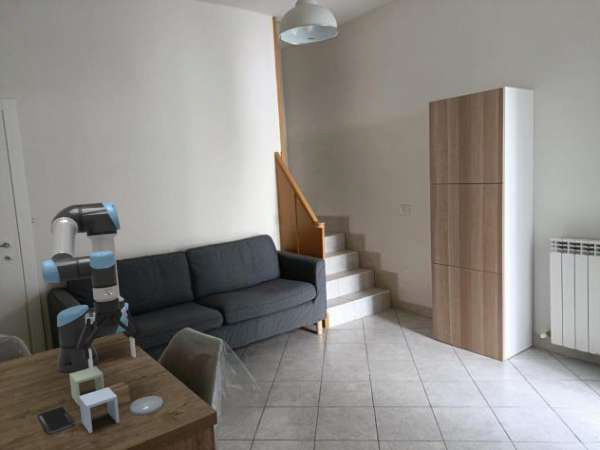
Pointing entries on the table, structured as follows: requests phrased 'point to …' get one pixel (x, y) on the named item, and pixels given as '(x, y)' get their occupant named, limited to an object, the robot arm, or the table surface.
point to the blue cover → (97, 399)
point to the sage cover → (85, 376)
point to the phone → (56, 420)
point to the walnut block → (121, 392)
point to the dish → (146, 405)
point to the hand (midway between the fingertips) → (113, 362)
